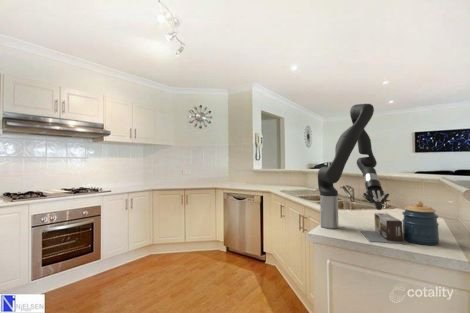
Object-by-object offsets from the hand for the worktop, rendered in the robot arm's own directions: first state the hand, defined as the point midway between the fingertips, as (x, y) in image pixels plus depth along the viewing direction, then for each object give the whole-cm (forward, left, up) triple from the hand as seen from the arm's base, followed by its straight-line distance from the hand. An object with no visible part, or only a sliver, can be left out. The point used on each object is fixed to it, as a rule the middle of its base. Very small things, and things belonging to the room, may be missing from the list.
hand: (379, 209), depth 123 cm
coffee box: (0, -1, -6) cm, 6 cm away
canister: (+13, -12, -12) cm, 21 cm away
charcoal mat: (-2, -10, -11) cm, 16 cm away
